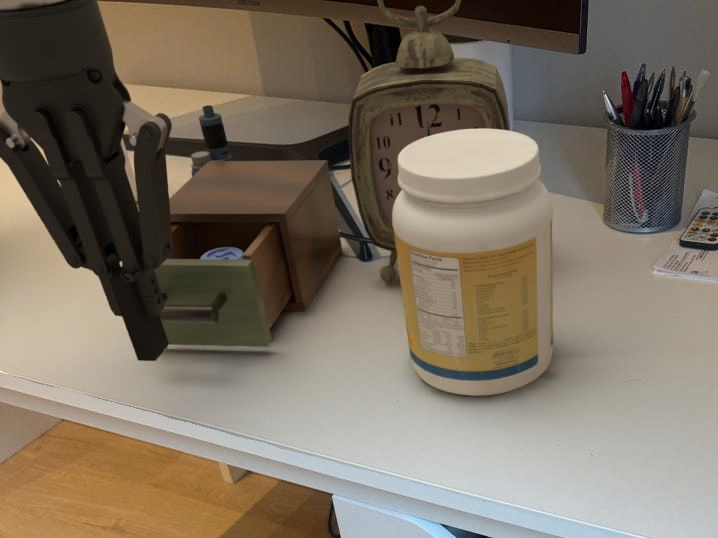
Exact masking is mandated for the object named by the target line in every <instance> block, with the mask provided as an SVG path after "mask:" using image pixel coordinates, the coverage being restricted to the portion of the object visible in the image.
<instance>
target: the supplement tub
mask: <svg viewBox="0 0 718 538" xmlns="http://www.w3.org/2000/svg"><path fill="white" fill-rule="evenodd" d="M539 151H540V150H539V145H538V143H536V141H535V140H534V139H533V138H532V137H530V136H528V135H526V134H523V133H521V132H516V131H513V130H510V131H508V130H500V129H463V130H455V131H449V132H443V133H439V134H434V135H431V136H428V137H424V138H422V139H419V140H417V141H415V142H413V143H411V144H409V145H408V146H406V147H405V148H404V149H403V150H402V151H401V152H400V153H399V155H398V169H399V174H398V184H399V186H400V188H401V189H402V191H401V192H400V193H399V195H398V196H397V198H396V200H395V203H394V206H393V211H392V225H393V228H394V236H395V244H396V251H397V267H398V274H399V281H400V289H401V297H402V305H403V311H404V312H403V313H404V319H405V326H406V327H405V328H406V333H407V334H406V335H407V342H408V350H409V359H410V361H411V364H412V368H413V369H414V370H415V372H416V374H417V375H418V376H419V378H420V379H422V380H423V381H424V382H425V383H427V384H428V385H430V386H432V387H433V388H436V389H438V390H440V391H444V392H447V393H450V394H455V395H463V396H472V397H473V396H474V397H475V396H476V397H477V396H478V397H481V396H493V395H494V396H495V395H500V394H504V393H508V392H512V391H514V390H518V389H519V388H522V387H524V386H526V385H528V384H530V383H531V382H533V381H536V379H538V378H539V377H540V376H541V375H542V374H543V373H544V372H545V371H546V370H547V369H548V367H549V365H550V363H551V361H552V356H553V351H554V294H553V293H554V290H553V289H554V288H553V287H554V286H553V278H554V277H553V215H554V210H553V201H552V199H551V198H552V197H551V195H550V193H549V191H548V188H547V187H546V186H545V184H544V182H542V181H541V180H540V179H539V178H540V176H541V173H542V165H541V163H540V152H539Z"/></svg>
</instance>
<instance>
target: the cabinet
mask: <svg viewBox="0 0 718 538" xmlns="http://www.w3.org/2000/svg"><path fill="white" fill-rule="evenodd" d="M169 203H170V215H171V225H172V224H173V223H174V222H279V225H280V230H281V235H282V239H283V244H284V249H285V253H286V258H287V263H288V267H289V272H290V277H291V281H292V286H293V291H294V293H293V295H292V296H291V298H290V299H289V301H288V302H287V304H286V305H285V307H284V308H283V310H282V311H281V312H283V311H284V312H306V311H307V309H308V308H309V306H310V305H311V304H312V302H313V300H314V298H315V296H316V295H317V293H318V292H319V290H320V288H321V287H322V285H323V284H324V282H326V279H327V278H328V276H329V274H330V273H331V272H332V270H333V268H334V267H335V266H336V263H337V262H338V260H339V259H340V257H341V255H342V254H343V246H342V241H341V240H342V239H341V233H340V227H339V222H338V221H339V220H338V215H337V210H336V203H335V199H334V192H333V187H332V180H331V174H330V169H329V161H328V160H327V159H325V160H323V159H319V160H318V159H317V160H311V159H309V160H305V159H304V160H232V161H209V162H207V163H206V164H205V165H204V166H203V167H202V168H201V169H200V170H199V171H198V172H197V173H196V174H195V175H194V176H193V177H192V176H191V178H189V179H188V180H187V182H185V183H184V184H183V185H182V186H181V187H180V188H179V189H178V190H177V191H176V192H175V193H173V195H172V196H170V197H169Z"/></svg>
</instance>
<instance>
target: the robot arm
mask: <svg viewBox="0 0 718 538" xmlns="http://www.w3.org/2000/svg"><path fill="white" fill-rule="evenodd" d="M0 85H1V103H2V106H3V109H4V111H3V112H2V114H1V115H0V159H1V160H2V161H3V162H4V163H5V164H6V165H7V167H8V168H9V170H10V171H11V173H12V175H13V176H14V178H15V180H16V182H17V183H18V184H19V186H20V188H21V190H22V191H23V193H24V195H25V196H26V198H27V199H28V201H29V203H30V205H31V206H32V208H33V209H34V211H35V212H36V214H37V216H38V217H39V219H40V221H41V222H42V224H43V226H44V228H45V229H46V231H47V232H48V234H49V235H50V237H51V239H52V241H53V242H54V244H55V246H56V247H57V249H58V251H59V252H60V254H61V255H62V257H63V258H64V261H65V262H66V263H67V265H68V266H69V267H70V268H72V269H76V270H78V269H80V268H84V269H86V270H89V271H91V272H92V273H94V275H95V276H97V277H98V279H99V282H100V285H101V287H102V290H103V293H104V294H105V297H106V298H105V299H106V301H107V303H108V306H109V308H110V311H111V312H112V313H113V315H114V316H115V317H122V321H123V323H124V325H125V326H124V327H125V328H126V332H127V334H128V337H129V340H130V342H131V345H132V347H133V351H134V353H135V356H136V358H137V361H140V362H157V360H158V359H159V358H160V356H161V355H162V354H163V353H164V352H165V350H166V349H167V348H168V347H169V346H170V345H169V342H168V339H167V336H166V333H165V330H164V327H163V324H162V321H161V318H160V315H159V313H160V312H161V311H162V310H163V308H164V299H163V296H162V293H161V290H160V287H159V283H158V280H157V277H156V274H155V271H154V269H157V268H159V266H160V265H161V264H162V263H163V262H164V261H165V260H166V259H167V258H168V257H169V256H170V255H171V254H172V252H173V240H172V228H171V215H170V203H169V199H170V191H169V177H168V168H167V156H166V154H167V153H166V149H167V147H168V143H169V140H170V136H171V132H172V128H173V123H172V121H171V119H170V116H168V115H167V114H165V113H163V112H158V113H157V114H155V115H153V114H151V113H150V112H148V111H146V110H145V109H143V108H142V107H140V106H139V105H137V104H135V102H132V98H131V94H130V92H129V90H128V88H127V87H126V86H125V84H124V83H123V82H122V80H121V79H120V77H119V75H118V73H117V72H116V68H115V63H114V55H113V49H112V46H111V42H110V39H109V36H108V32H107V28H106V26H105V22H104V19H103V16H102V13H101V9H100V6H99V2H98V0H0ZM126 127H127V129H128V142H129V144H130V145H131V146H133V147H134V151H133V169H134V170H133V172H134V176H135V180H136V190H137V199H138V201H137V202H136V201H135V198H134V195H133V192H132V189H131V186H130V183H129V180H128V177H127V174H126V170H125V163H126V160H125V155H124V152H123V149H122V146H121V140H122V138H123V137H124V133H125V130H126ZM36 144H37V145H36ZM39 148H40V149H42V151H43V153H42V152H41V150H40V149H39ZM43 154H44V155H43ZM122 264H123V266H122Z"/></svg>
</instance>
